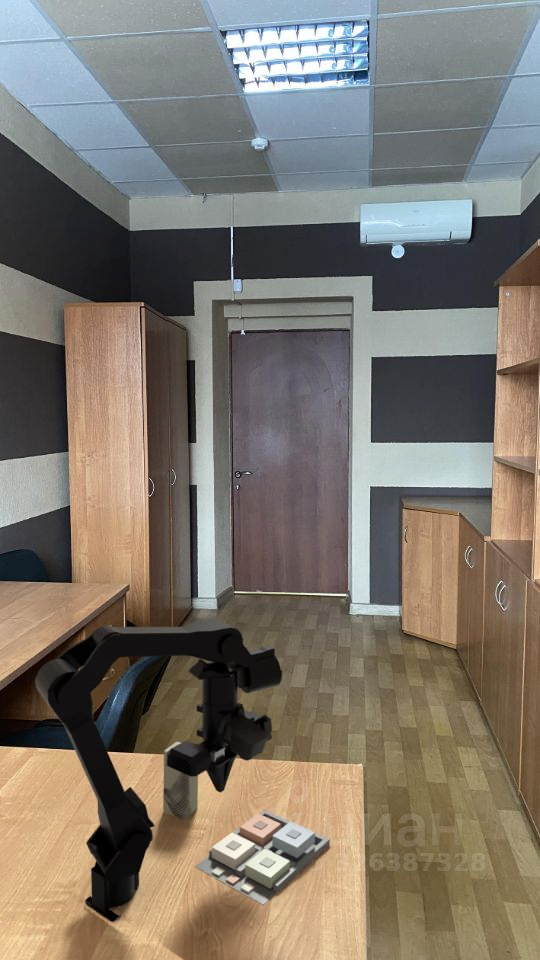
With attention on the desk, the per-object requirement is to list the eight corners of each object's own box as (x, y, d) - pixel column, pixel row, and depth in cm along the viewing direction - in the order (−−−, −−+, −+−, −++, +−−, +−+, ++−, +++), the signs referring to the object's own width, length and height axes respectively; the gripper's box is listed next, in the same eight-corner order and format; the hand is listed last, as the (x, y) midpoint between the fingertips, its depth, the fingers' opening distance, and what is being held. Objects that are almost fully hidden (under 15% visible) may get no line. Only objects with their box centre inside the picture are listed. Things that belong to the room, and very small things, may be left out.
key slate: (297, 858, 110) (297, 846, 110) (272, 846, 113) (272, 835, 113) (314, 842, 114) (314, 831, 114) (290, 831, 117) (290, 820, 117)
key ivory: (235, 870, 109) (235, 858, 109) (211, 857, 112) (211, 846, 112) (255, 854, 113) (255, 843, 113) (232, 842, 116) (232, 831, 116)
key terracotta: (262, 848, 115) (262, 837, 114) (239, 836, 118) (239, 826, 117) (280, 833, 119) (280, 823, 118) (258, 823, 122) (258, 812, 121)
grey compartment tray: (263, 912, 102) (263, 898, 102) (194, 873, 111) (194, 860, 110) (329, 851, 116) (329, 839, 116) (264, 821, 125) (264, 809, 125)
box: (162, 818, 126) (161, 750, 124) (176, 806, 129) (175, 740, 128) (186, 826, 123) (185, 757, 122) (199, 813, 127) (199, 746, 126)
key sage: (270, 888, 105) (270, 876, 105) (245, 875, 108) (245, 863, 108) (289, 871, 109) (289, 860, 109) (264, 859, 112) (264, 847, 112)
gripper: (218, 734, 99) (218, 837, 100) (294, 692, 114) (293, 783, 115) (164, 713, 106) (165, 810, 107) (242, 676, 120) (242, 762, 122)
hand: (220, 790), depth 113 cm, fingers closed
